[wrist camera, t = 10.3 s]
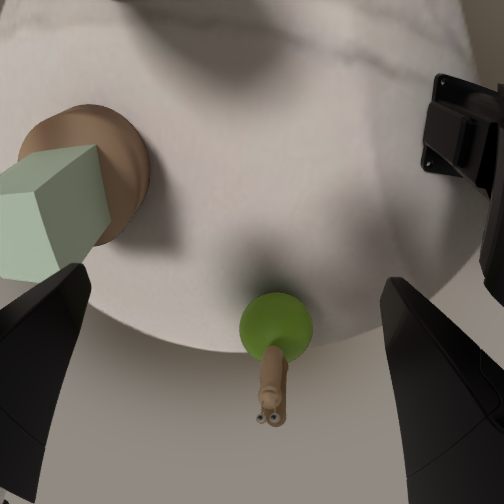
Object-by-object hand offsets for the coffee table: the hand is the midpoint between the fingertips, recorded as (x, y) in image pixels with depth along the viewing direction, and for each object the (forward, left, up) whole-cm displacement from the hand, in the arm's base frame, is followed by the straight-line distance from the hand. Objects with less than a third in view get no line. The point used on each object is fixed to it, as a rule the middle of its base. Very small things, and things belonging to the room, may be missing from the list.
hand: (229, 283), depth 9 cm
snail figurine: (-2, +12, -12) cm, 17 cm away
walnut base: (+11, +1, -12) cm, 16 cm away
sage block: (+11, +1, -9) cm, 14 cm away
